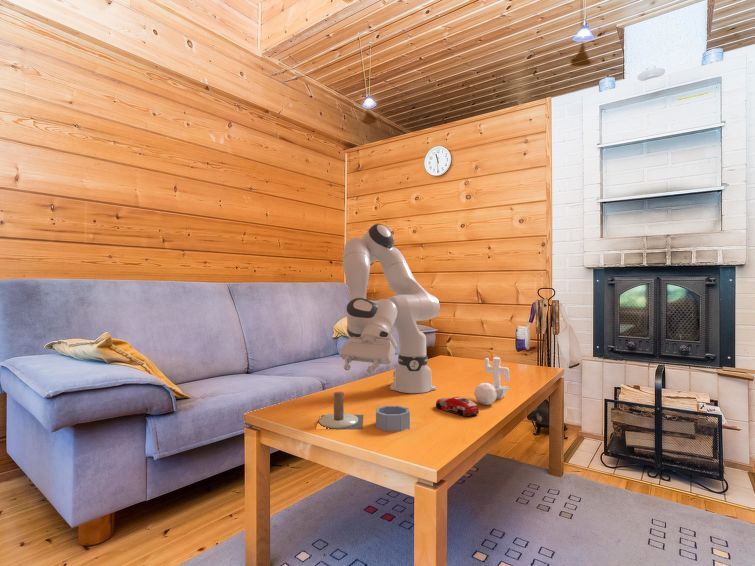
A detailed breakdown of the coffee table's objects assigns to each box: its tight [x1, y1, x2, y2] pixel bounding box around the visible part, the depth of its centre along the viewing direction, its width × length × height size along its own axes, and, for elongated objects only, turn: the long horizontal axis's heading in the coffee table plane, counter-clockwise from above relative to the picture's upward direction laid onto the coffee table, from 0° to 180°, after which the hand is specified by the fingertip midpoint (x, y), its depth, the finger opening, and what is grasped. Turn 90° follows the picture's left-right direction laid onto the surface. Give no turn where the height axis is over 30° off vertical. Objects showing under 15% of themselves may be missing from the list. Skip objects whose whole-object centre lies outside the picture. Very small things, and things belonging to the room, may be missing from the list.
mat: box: [321, 414, 364, 430], centre depth 133 cm, size 14×14×1 cm
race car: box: [435, 396, 479, 417], centre depth 145 cm, size 16×7×5 cm, turn 37°
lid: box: [318, 391, 358, 430], centre depth 132 cm, size 12×12×9 cm
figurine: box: [483, 356, 510, 400], centre depth 164 cm, size 7×9×15 cm
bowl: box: [375, 405, 411, 432], centre depth 129 cm, size 10×10×5 cm
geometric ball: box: [473, 382, 497, 406], centre depth 154 cm, size 8×8×8 cm
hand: (357, 370), depth 142 cm, fingers open, 8 cm apart
